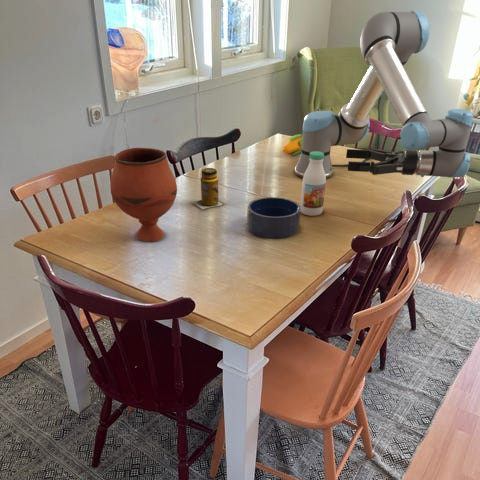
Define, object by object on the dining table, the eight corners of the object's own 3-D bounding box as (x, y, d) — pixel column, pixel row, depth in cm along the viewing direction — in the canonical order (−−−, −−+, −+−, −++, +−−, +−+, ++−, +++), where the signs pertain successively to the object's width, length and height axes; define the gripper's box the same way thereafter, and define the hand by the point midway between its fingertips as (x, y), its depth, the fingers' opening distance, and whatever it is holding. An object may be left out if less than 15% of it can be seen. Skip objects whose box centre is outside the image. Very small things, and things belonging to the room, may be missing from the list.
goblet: (126, 222, 156) (114, 144, 142) (184, 223, 156) (179, 145, 141) (111, 249, 141) (97, 164, 126) (176, 250, 140) (169, 165, 126)
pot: (283, 214, 163) (284, 194, 159) (308, 233, 150) (310, 212, 146) (239, 222, 157) (239, 201, 153) (261, 242, 145) (262, 221, 141)
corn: (311, 132, 221) (292, 142, 207) (311, 149, 225) (291, 159, 211) (297, 131, 225) (277, 140, 211) (297, 147, 229) (277, 158, 215)
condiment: (223, 204, 169) (222, 171, 162) (202, 209, 165) (201, 175, 158) (212, 198, 174) (211, 165, 167) (192, 203, 170) (190, 169, 163)
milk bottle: (295, 212, 164) (300, 153, 153) (308, 205, 169) (314, 148, 157) (313, 218, 160) (320, 158, 148) (326, 211, 165) (333, 152, 153)
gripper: (419, 188, 142) (347, 184, 145) (407, 162, 162) (344, 159, 165) (425, 162, 138) (350, 159, 140) (412, 140, 158) (347, 137, 160)
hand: (347, 159), depth 153 cm, fingers open, 13 cm apart
